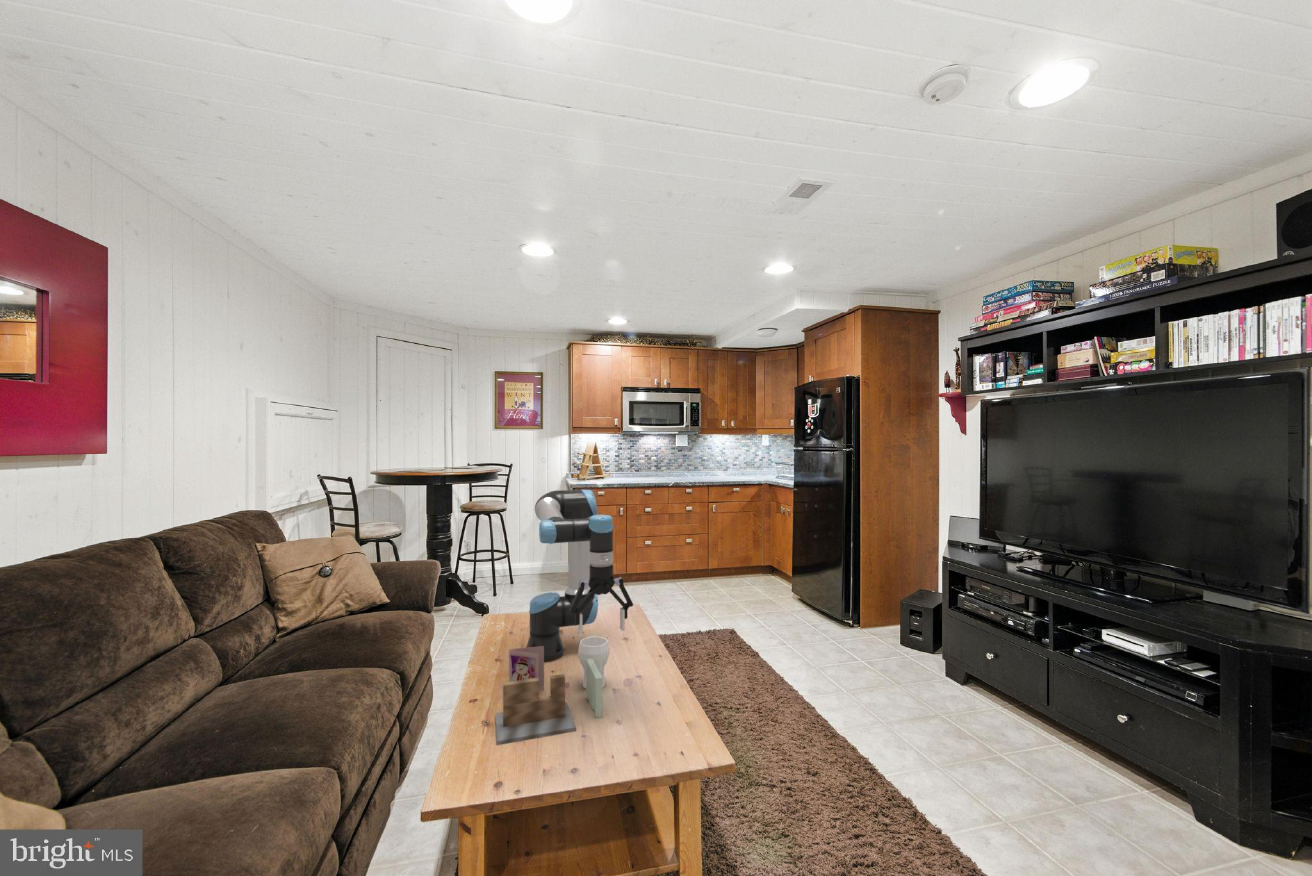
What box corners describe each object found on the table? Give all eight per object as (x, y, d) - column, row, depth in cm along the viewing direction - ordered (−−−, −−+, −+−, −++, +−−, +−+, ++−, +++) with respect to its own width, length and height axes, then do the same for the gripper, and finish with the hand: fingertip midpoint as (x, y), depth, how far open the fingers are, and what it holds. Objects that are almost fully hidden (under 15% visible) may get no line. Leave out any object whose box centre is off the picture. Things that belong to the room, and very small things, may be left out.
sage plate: (586, 695, 174) (586, 659, 175) (592, 694, 175) (592, 658, 175) (596, 718, 160) (595, 678, 160) (602, 717, 161) (602, 677, 161)
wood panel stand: (497, 744, 146) (497, 697, 146) (495, 716, 161) (495, 673, 161) (576, 730, 153) (575, 685, 153) (567, 704, 168) (567, 664, 168)
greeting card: (507, 695, 175) (507, 650, 175) (520, 686, 182) (520, 642, 182) (537, 701, 171) (536, 655, 171) (549, 691, 178) (549, 646, 178)
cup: (604, 693, 176) (603, 648, 176) (573, 690, 178) (573, 646, 178) (613, 679, 186) (612, 636, 187) (584, 677, 189) (584, 634, 189)
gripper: (563, 570, 160) (564, 640, 159) (642, 563, 168) (642, 630, 167) (560, 565, 167) (560, 632, 166) (635, 559, 175) (635, 623, 175)
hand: (601, 631), depth 167 cm, fingers open, 13 cm apart
